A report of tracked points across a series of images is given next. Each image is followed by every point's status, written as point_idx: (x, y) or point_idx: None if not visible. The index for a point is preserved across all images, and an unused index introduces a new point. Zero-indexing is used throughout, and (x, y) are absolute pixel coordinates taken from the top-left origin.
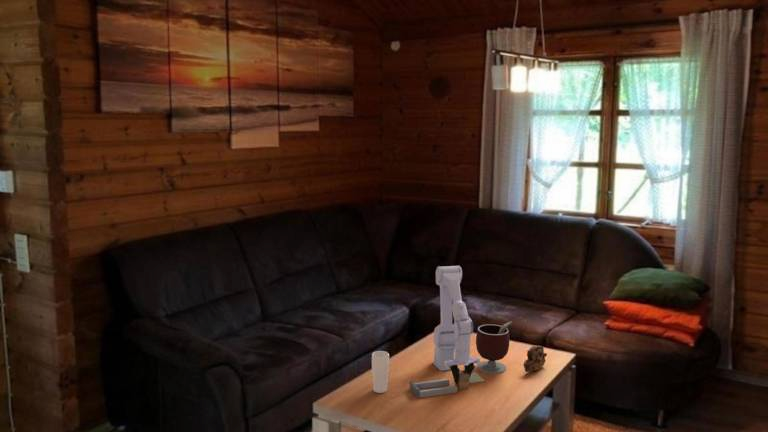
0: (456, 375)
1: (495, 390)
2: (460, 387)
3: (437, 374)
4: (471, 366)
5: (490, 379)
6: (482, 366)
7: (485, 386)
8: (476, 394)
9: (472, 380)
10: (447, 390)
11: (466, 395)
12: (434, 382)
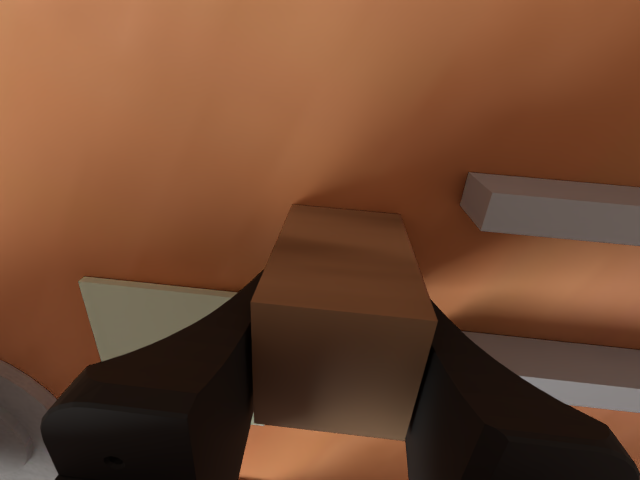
0: (469, 349)
1: (13, 41)
2: (393, 223)
3: (395, 475)
4: (136, 430)
5: (20, 283)
6: (35, 449)
7: (104, 179)
8: (283, 25)
9: (189, 314)
10: (616, 194)
11: (418, 48)
12: (613, 381)
